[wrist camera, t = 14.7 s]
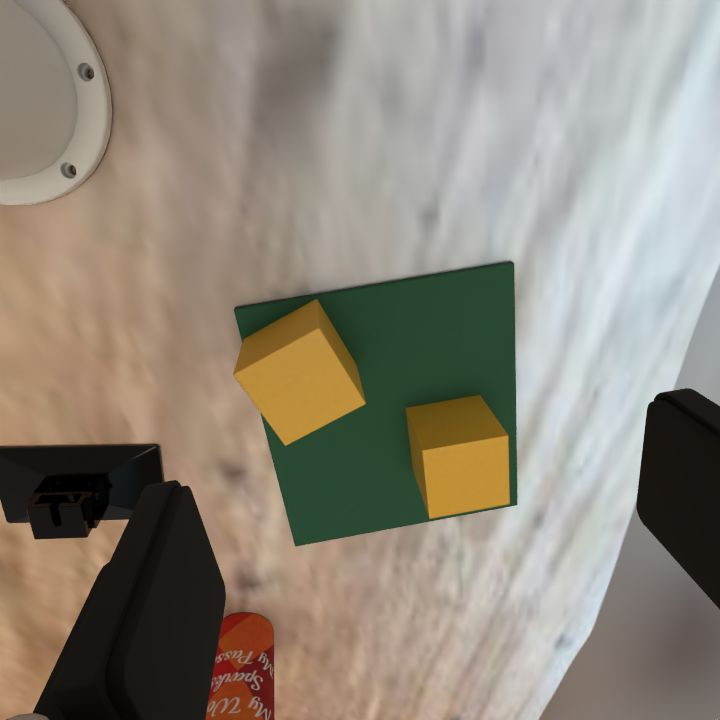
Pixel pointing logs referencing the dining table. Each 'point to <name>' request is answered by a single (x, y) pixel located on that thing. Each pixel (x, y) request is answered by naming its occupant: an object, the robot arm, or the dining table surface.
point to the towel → (395, 394)
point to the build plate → (74, 485)
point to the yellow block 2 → (459, 456)
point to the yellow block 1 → (299, 373)
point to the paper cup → (243, 670)
